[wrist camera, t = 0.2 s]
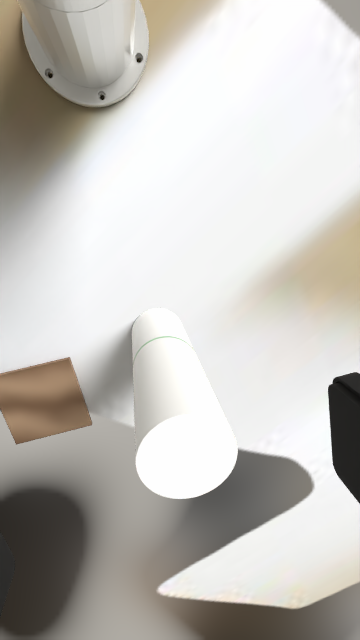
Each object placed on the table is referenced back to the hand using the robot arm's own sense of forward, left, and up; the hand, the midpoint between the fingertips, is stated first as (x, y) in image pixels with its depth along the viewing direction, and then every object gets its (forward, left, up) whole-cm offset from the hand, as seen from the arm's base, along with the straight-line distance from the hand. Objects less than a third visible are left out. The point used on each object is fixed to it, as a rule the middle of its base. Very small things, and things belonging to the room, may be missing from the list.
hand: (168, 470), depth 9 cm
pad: (+16, -17, -37) cm, 44 cm away
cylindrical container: (+10, +1, -37) cm, 38 cm away
